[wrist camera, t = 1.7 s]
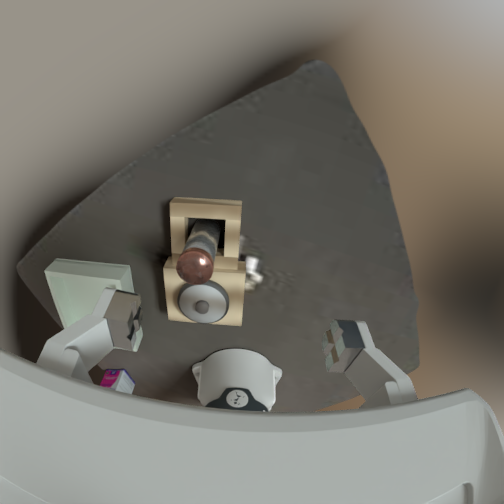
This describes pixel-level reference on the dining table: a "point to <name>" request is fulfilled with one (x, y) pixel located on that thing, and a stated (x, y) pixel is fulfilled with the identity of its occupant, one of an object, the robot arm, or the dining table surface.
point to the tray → (85, 287)
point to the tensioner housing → (224, 273)
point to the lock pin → (199, 252)
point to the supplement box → (118, 381)
